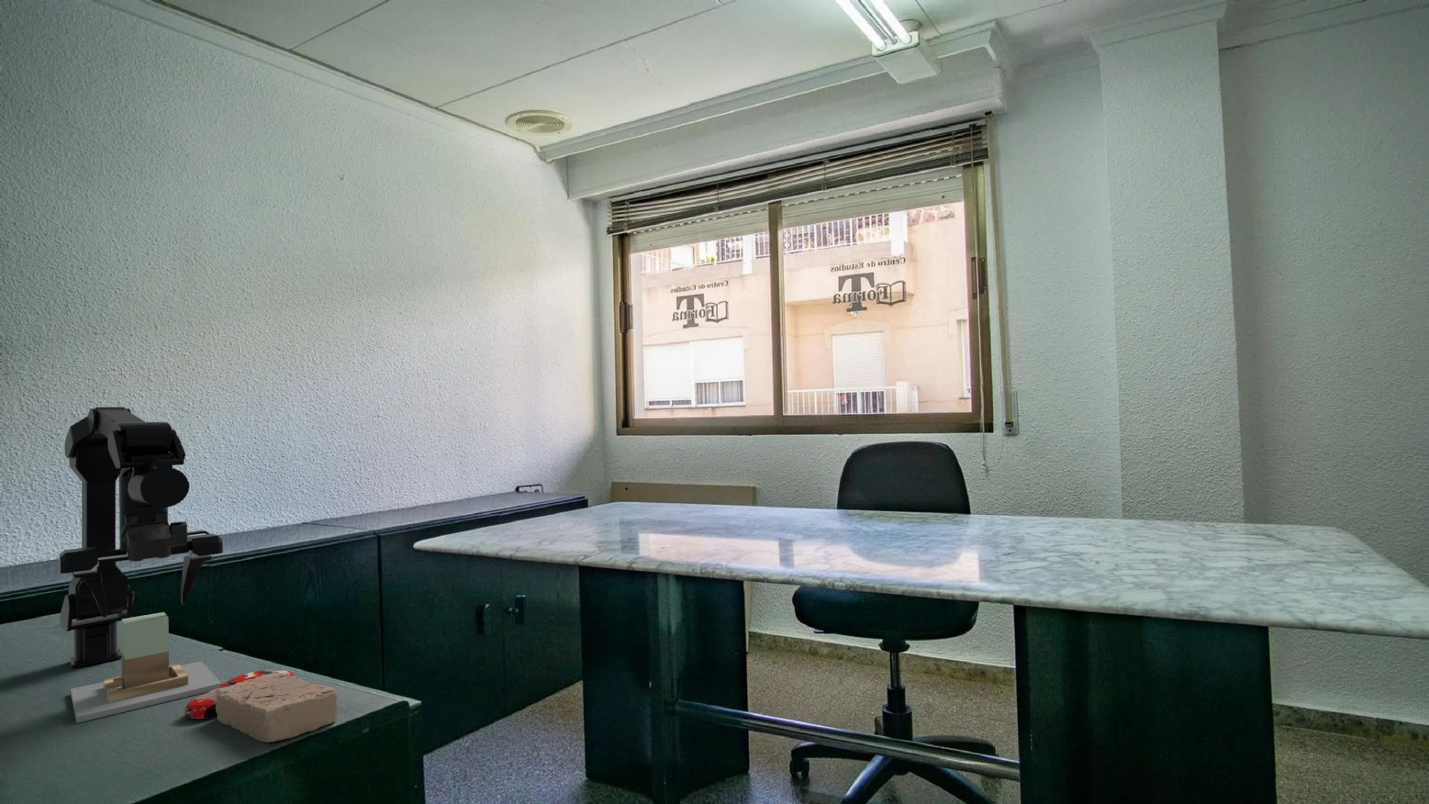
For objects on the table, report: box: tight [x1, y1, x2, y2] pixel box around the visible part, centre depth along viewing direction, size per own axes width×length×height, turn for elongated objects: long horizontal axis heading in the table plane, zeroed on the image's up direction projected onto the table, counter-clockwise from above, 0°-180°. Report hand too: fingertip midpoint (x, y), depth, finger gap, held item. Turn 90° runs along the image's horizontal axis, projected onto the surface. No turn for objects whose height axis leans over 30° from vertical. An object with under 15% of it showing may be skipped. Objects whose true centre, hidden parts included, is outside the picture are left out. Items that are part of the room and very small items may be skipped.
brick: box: [216, 673, 338, 743], centre depth 92 cm, size 16×8×5 cm, turn 55°
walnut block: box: [121, 650, 170, 689], centre depth 105 cm, size 5×5×5 cm
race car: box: [184, 669, 295, 721], centre depth 98 cm, size 13×5×4 cm, turn 141°
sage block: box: [121, 611, 170, 660], centre depth 105 cm, size 5×5×5 cm
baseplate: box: [70, 660, 222, 724], centre depth 105 cm, size 16×16×2 cm
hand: (145, 610), depth 105 cm, fingers open, 9 cm apart
